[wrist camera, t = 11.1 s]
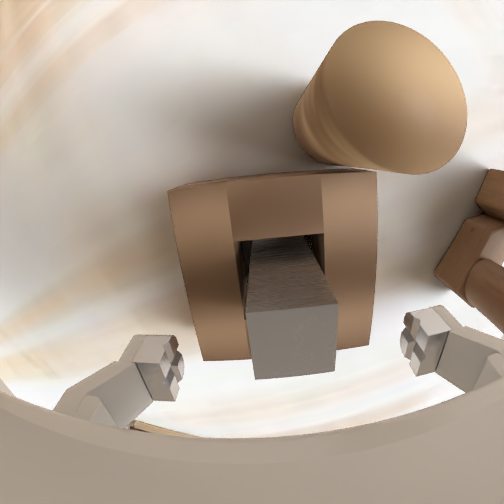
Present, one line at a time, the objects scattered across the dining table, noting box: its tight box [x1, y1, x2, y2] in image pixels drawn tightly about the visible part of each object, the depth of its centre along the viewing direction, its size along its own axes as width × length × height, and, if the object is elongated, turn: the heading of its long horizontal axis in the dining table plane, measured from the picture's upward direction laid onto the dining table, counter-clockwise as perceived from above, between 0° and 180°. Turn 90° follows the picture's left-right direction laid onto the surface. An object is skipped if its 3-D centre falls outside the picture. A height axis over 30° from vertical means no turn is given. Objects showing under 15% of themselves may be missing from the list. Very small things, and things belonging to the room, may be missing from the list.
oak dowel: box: [293, 21, 467, 174], centre depth 12 cm, size 6×6×10 cm
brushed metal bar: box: [245, 235, 338, 380], centre depth 15 cm, size 3×3×10 cm
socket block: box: [168, 168, 377, 361], centre depth 17 cm, size 11×11×4 cm
